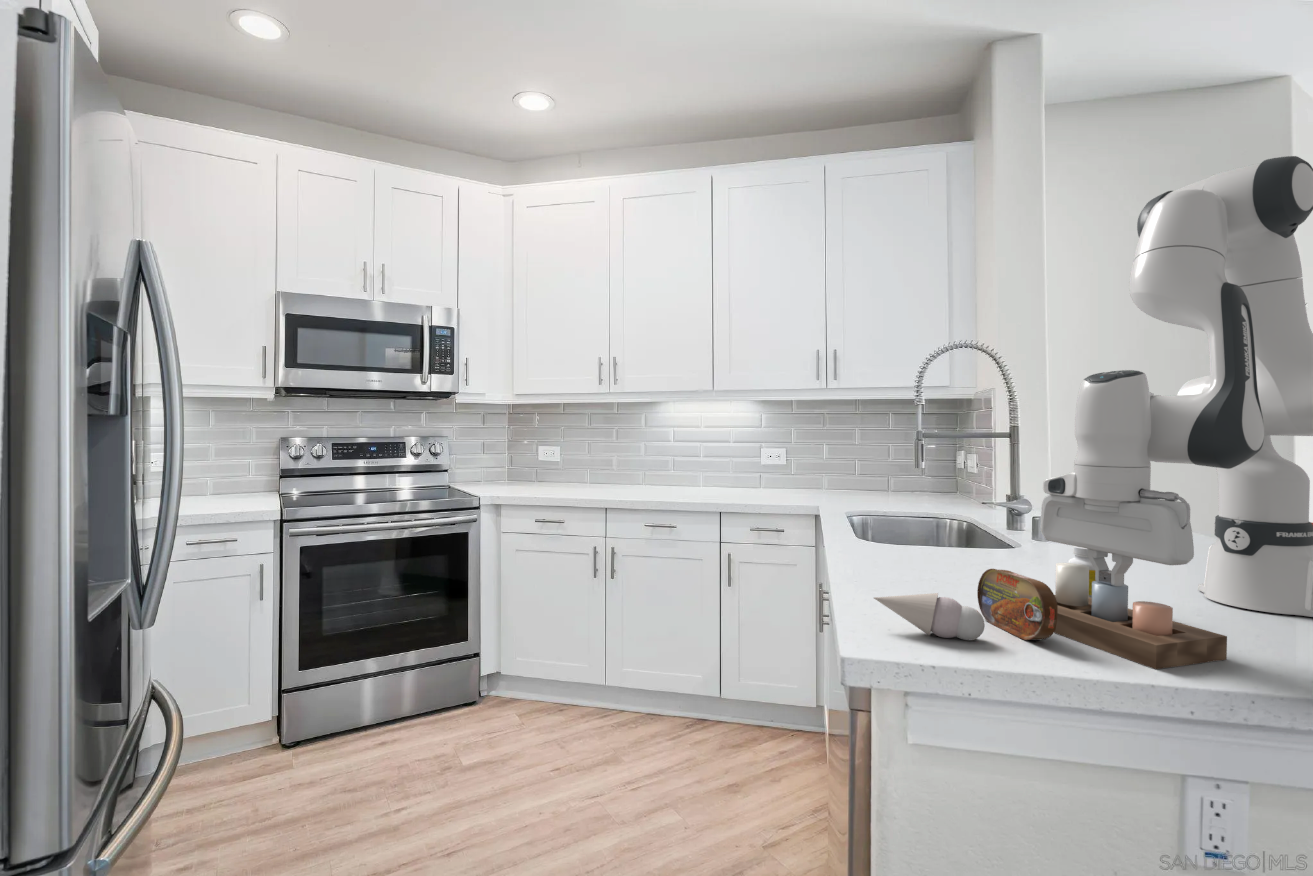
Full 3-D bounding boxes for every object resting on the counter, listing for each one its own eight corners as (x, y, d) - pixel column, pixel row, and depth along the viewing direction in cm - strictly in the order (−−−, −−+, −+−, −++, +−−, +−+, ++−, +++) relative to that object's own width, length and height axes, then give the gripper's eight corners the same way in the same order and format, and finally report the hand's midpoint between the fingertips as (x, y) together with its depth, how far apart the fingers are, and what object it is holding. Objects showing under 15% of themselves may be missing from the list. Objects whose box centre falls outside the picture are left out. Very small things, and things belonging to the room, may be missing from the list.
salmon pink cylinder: (1147, 640, 89) (1148, 600, 89) (1180, 650, 85) (1180, 608, 85) (1124, 643, 88) (1125, 602, 88) (1155, 653, 84) (1156, 611, 84)
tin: (975, 616, 102) (975, 562, 102) (994, 615, 102) (994, 562, 102) (1040, 649, 87) (1041, 586, 87) (1062, 648, 87) (1063, 586, 87)
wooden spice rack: (1073, 611, 104) (1073, 593, 104) (1226, 659, 83) (1226, 636, 83) (1012, 617, 101) (1012, 598, 101) (1155, 669, 80) (1156, 645, 80)
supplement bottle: (1112, 611, 104) (1113, 550, 104) (1075, 609, 105) (1076, 549, 105) (1097, 602, 110) (1098, 544, 109) (1061, 600, 111) (1062, 543, 111)
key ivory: (1070, 597, 100) (1070, 562, 100) (1095, 604, 96) (1096, 567, 96) (1048, 599, 99) (1049, 563, 99) (1073, 607, 95) (1073, 569, 95)
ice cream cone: (868, 624, 97) (978, 656, 91) (867, 607, 93) (983, 640, 86) (877, 588, 100) (984, 616, 94) (877, 570, 96) (990, 598, 89)
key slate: (1106, 617, 95) (1107, 579, 95) (1135, 626, 91) (1135, 586, 90) (1084, 620, 93) (1084, 581, 93) (1111, 628, 89) (1112, 589, 89)
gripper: (1207, 493, 82) (1205, 601, 83) (1066, 479, 102) (1064, 567, 102) (1170, 494, 81) (1168, 605, 81) (1033, 480, 100) (1032, 570, 101)
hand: (1109, 584), depth 92 cm, fingers closed, pressing on key slate
